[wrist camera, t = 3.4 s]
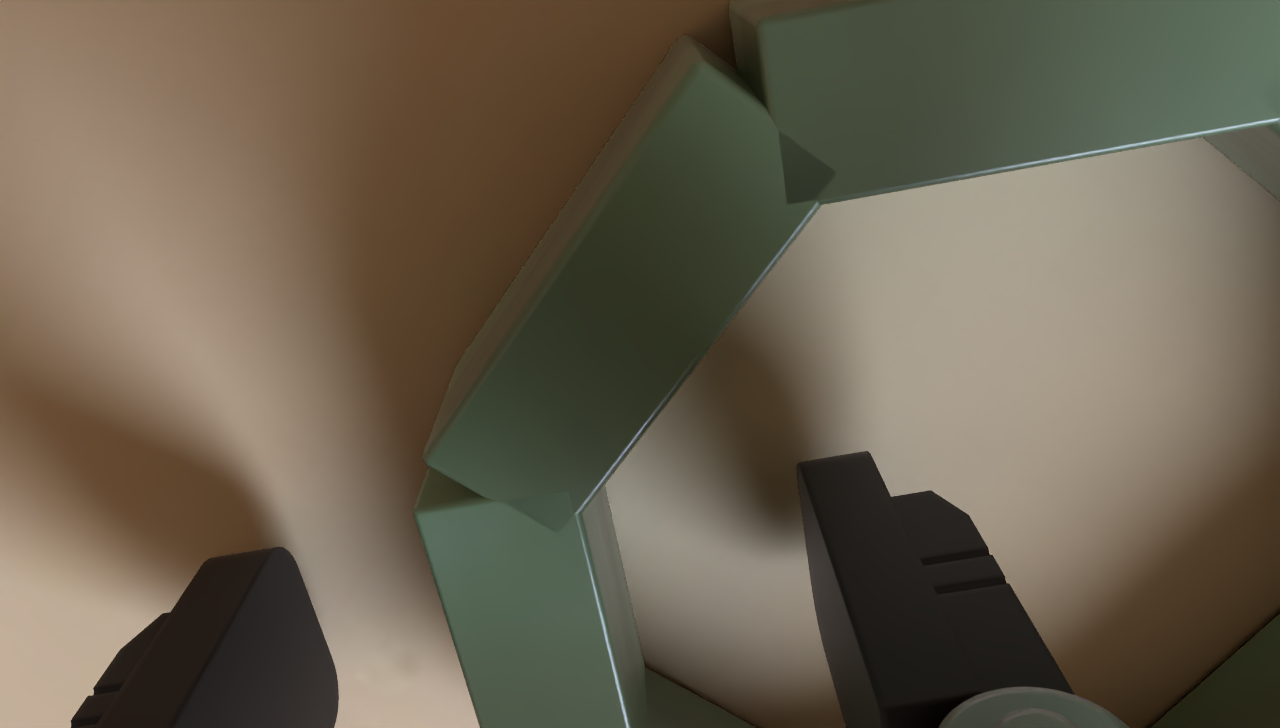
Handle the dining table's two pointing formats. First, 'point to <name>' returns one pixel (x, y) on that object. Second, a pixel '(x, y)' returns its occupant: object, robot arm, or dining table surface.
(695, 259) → the ring
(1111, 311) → the dining table surface
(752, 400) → the dining table surface
